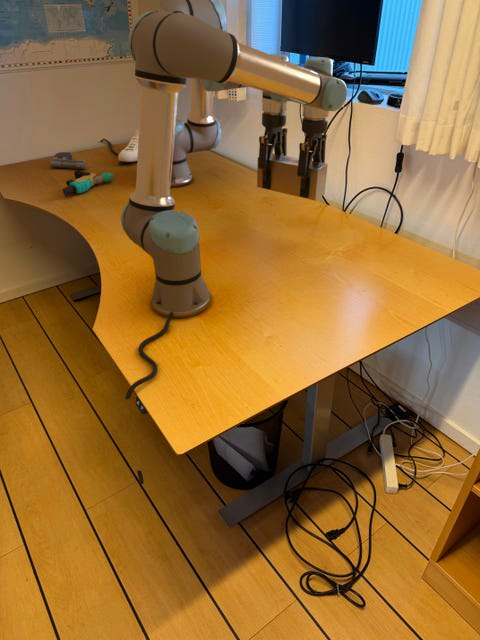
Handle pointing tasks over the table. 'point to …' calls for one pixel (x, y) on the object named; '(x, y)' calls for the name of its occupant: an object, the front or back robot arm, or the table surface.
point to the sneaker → (130, 150)
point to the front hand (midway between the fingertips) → (309, 193)
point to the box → (294, 177)
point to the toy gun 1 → (66, 161)
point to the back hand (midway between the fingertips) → (272, 184)
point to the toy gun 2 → (85, 181)
